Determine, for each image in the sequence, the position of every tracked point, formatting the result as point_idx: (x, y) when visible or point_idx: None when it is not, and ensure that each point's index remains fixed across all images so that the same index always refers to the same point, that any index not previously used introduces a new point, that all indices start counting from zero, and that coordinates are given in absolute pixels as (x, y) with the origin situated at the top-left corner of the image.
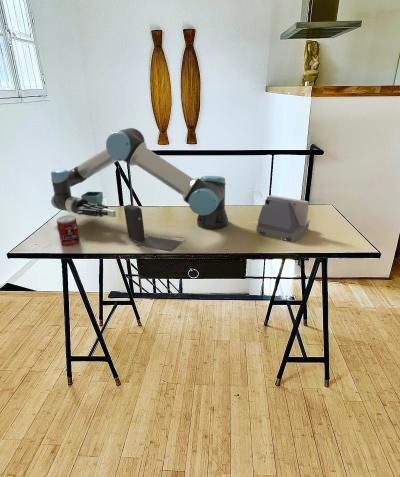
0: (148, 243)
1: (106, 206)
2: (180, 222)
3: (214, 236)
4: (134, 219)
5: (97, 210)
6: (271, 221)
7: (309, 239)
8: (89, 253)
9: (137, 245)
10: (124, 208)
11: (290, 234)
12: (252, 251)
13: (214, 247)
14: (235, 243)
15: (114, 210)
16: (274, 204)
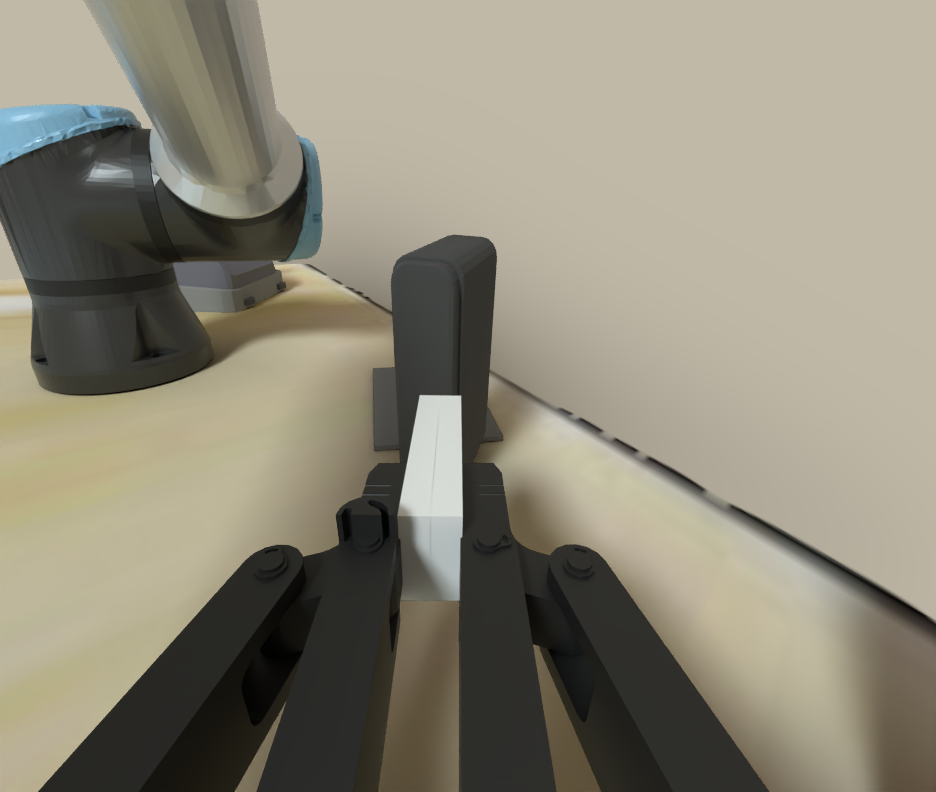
0: None
1: (277, 554)
2: (97, 434)
3: (288, 343)
4: (492, 308)
5: (557, 548)
6: (242, 261)
7: None
8: (792, 550)
9: (502, 438)
10: (464, 281)
11: (279, 273)
12: (364, 304)
13: (376, 331)
14: (328, 319)
15: (420, 400)
16: None
